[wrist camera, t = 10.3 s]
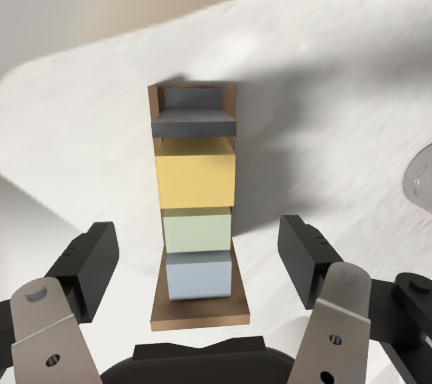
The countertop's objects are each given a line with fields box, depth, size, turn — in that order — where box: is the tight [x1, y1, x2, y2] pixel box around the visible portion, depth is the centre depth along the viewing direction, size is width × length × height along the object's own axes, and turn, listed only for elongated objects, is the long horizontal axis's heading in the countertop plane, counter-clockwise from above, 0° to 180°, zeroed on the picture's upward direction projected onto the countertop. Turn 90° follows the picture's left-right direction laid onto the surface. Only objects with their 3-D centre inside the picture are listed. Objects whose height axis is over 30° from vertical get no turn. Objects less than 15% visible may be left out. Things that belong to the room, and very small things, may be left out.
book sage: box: [163, 206, 231, 253], centre depth 25 cm, size 6×4×9 cm, turn 90°
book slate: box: [166, 250, 232, 300], centre depth 26 cm, size 6×4×10 cm
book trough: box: [148, 85, 250, 331], centre depth 23 cm, size 8×19×13 cm, turn 0°
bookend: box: [151, 88, 236, 138], centre depth 20 cm, size 6×3×10 cm, turn 90°
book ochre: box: [155, 137, 236, 209], centre depth 22 cm, size 6×4×10 cm
